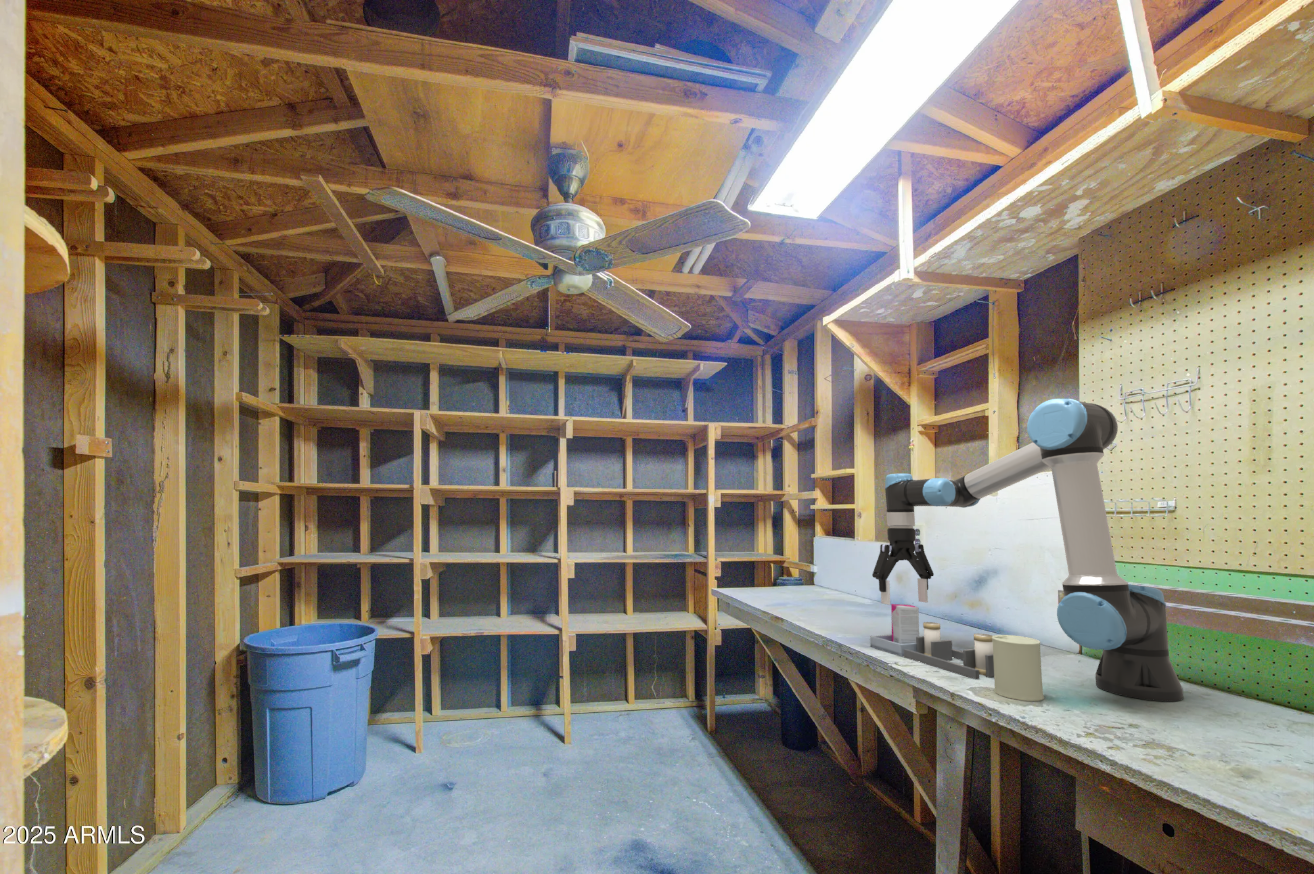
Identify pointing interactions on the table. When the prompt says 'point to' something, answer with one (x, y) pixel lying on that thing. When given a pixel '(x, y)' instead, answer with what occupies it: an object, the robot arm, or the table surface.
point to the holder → (949, 658)
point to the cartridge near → (982, 651)
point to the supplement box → (904, 623)
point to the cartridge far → (930, 635)
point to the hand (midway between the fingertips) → (904, 602)
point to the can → (1017, 667)
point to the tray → (890, 645)
